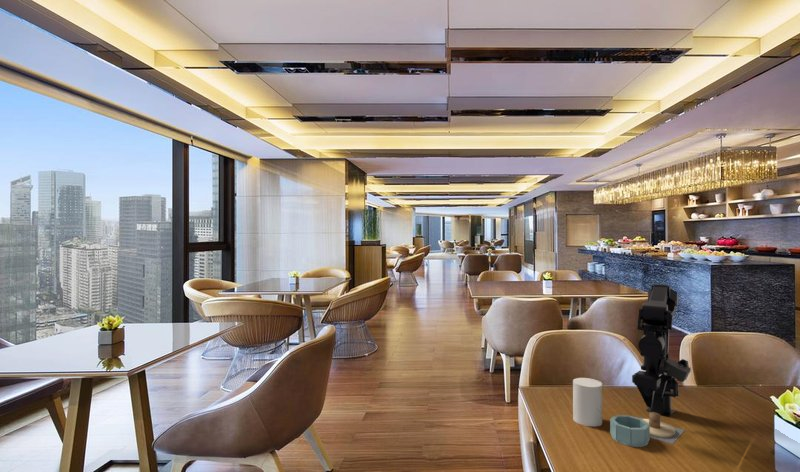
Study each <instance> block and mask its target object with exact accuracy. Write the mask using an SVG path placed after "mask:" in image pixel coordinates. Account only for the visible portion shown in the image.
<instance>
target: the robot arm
mask: <svg viewBox="0 0 800 472" xmlns="http://www.w3.org/2000/svg"><path fill="white" fill-rule="evenodd" d="M678 293H679V292H678V291H676V290H674V289H673V288H671V286H670V285H668V284H660V283H659V284H658V283H655V284H651V288H650V289H647V301H645V302H643V303H642V305H641V307H640V308H639V309H638V320H637V327H636V328H637V329H636V330H638V331H643V333H642V337H641V338H640V339H639V340H638V344H637V346H638V350H639V351H640V356H641V357H643V358H642V359H643V360H642V362H643V364H642V365H641V366H640V370H638V371H637V372H636V373H634V374H632V376H631V383H633V384H634V386H635V387H637V390H638V392H639V393H640V396H641V397H642V400H643V402H644V403H645V405H646V407H647V408H646V412H648V413H650V412H655V413H658V414H660V416H664V417H666V418H667V417H668V418H670V417H671V416H672V415H673V414H674V413H675V411H676V410H675V409H672V397H673V398H677V397H680V396H679V392H680V391H679V382H681V383H684V382H685V381H687V378H688V377H689V375H690V373H691V366H689V361H688V360H686V359H684V358H681V359H680V360H678V361H677V360H676V359H671V358H670V357H671V356H670V354H669V351H670V348H669V347H670V344H669V343H670V331H672V330H673V319H674V315H675V314H676V310H677V309H676V308H678V307H679V294H678ZM678 381H679V382H678Z"/></svg>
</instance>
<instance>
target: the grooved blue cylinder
mask: <svg viewBox="0 0 800 472" xmlns="http://www.w3.org/2000/svg"><path fill="white" fill-rule="evenodd" d="M609 423H610V424H609V434H610V435H611V438H612V439H613V440H614V441H616V442H617V443H619V444H621V445H625V446H628V447H634V448H642V447H646V446H648V445H649V441H651V440H650V439H651V438H650V425H649V424H648V423H647V422H645V421H644V420H643V419H640V418H639V417H635V416H634V415H633V416H632V415H628V414H615V415H613V416H612V417H611V418H610V419H609Z"/></svg>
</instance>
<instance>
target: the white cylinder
mask: <svg viewBox="0 0 800 472" xmlns="http://www.w3.org/2000/svg"><path fill="white" fill-rule="evenodd" d="M572 419H573V421H574V422H575V423H577V424H579V425H581V426H586V427H600V426H602V424H603V383H602V382H601V381H600V380H596V379H593V378H588V377H577V378H574V379H572Z"/></svg>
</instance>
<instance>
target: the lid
mask: <svg viewBox="0 0 800 472" xmlns="http://www.w3.org/2000/svg"><path fill="white" fill-rule="evenodd" d="M643 420H644V421H645V422H647V423H648V424H649V425H650V436H654V437H659V438H670V437H673V436H675V429H674V427H675V426H672V425H671V424H669V423H666V422H664V421H661V415H660V414H658V413H655V412H648V418H644V419H643Z"/></svg>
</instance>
